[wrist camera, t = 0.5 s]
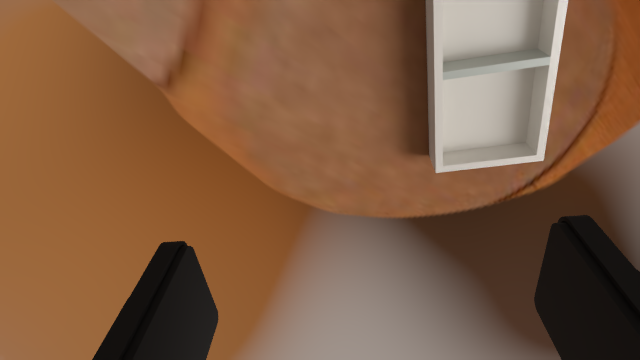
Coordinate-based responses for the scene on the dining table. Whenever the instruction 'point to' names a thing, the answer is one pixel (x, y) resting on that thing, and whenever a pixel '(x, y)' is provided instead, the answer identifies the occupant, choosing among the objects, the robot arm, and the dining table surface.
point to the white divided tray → (491, 80)
